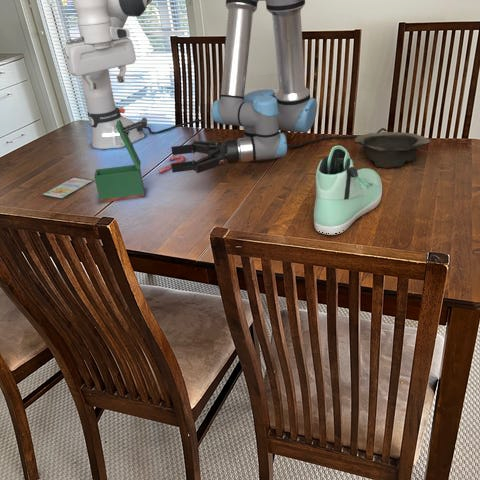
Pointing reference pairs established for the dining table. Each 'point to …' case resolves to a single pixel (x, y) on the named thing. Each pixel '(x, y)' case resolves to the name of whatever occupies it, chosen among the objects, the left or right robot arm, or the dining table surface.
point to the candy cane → (181, 159)
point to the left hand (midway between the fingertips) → (107, 85)
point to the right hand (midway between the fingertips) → (171, 159)
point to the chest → (119, 183)
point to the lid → (127, 141)
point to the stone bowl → (391, 147)
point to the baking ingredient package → (67, 187)
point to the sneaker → (343, 192)
